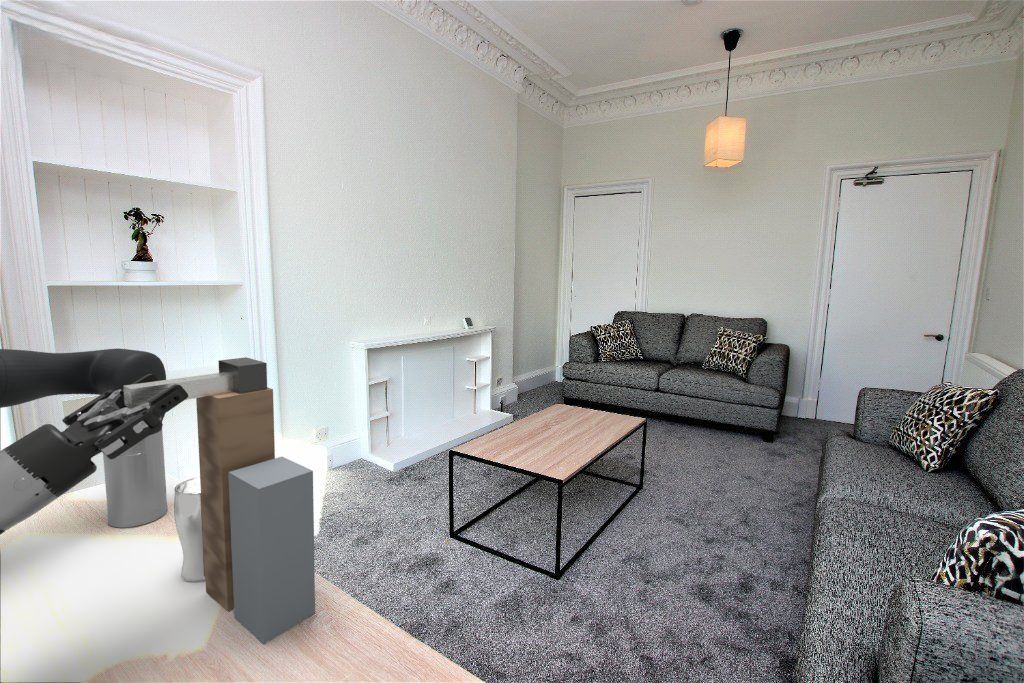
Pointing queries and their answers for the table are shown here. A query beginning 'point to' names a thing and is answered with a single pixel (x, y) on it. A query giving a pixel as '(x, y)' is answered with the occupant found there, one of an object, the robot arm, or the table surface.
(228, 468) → the tall wooden post
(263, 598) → the grey tall block
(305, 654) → the table surface
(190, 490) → the beer glass
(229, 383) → the blocky hammer
